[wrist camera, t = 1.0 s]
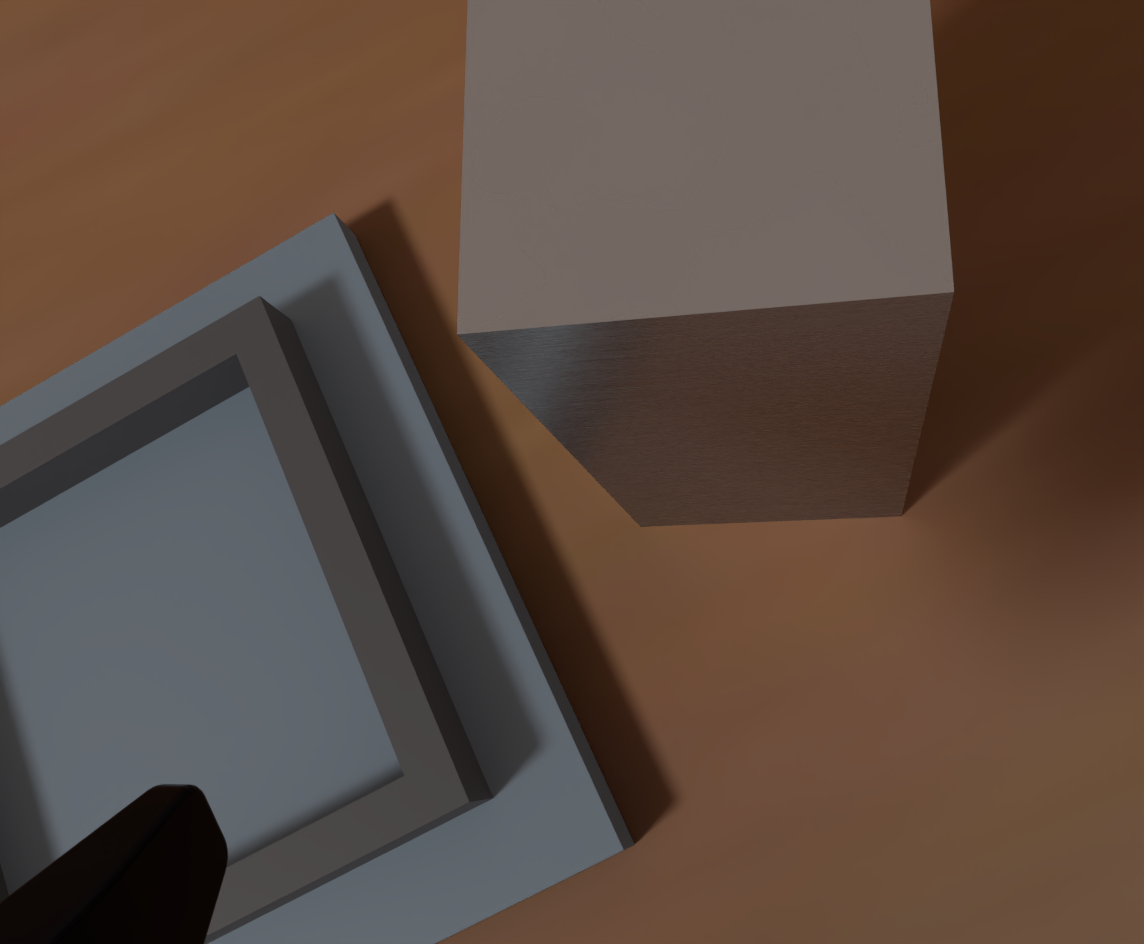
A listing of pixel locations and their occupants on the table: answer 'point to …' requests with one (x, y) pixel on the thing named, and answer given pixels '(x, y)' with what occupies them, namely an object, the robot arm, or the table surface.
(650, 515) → the block
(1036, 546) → the table surface
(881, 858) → the table surface
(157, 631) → the dock
